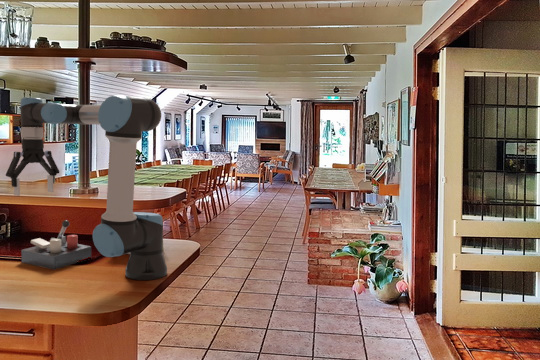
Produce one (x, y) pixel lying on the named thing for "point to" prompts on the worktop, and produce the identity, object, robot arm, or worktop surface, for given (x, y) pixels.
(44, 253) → the console
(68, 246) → the button red
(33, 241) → the rocker
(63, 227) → the lever
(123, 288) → the worktop surface
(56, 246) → the button ivory
